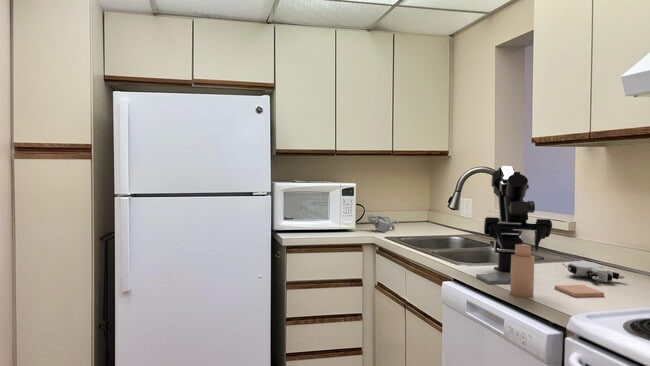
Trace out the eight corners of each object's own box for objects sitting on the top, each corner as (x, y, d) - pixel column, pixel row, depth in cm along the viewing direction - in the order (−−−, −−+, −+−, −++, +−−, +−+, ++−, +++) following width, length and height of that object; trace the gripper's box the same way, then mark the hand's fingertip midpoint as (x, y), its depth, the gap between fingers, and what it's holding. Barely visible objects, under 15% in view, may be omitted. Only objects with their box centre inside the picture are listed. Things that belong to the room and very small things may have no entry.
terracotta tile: (554, 288, 138) (554, 285, 138) (582, 288, 139) (582, 284, 139) (574, 296, 129) (574, 293, 129) (604, 296, 130) (604, 292, 130)
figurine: (396, 240, 266) (368, 237, 260) (391, 224, 275) (363, 220, 269) (404, 229, 260) (376, 225, 253) (398, 212, 268) (371, 208, 262)
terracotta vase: (506, 291, 133) (507, 243, 133) (526, 291, 134) (527, 243, 134) (517, 297, 127) (518, 247, 127) (537, 297, 128) (539, 246, 128)
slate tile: (476, 277, 152) (476, 274, 152) (502, 276, 153) (502, 273, 153) (489, 283, 143) (489, 280, 143) (516, 283, 144) (516, 280, 144)
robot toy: (627, 286, 146) (590, 272, 160) (628, 272, 145) (592, 259, 160) (593, 288, 143) (559, 273, 158) (594, 273, 143) (560, 260, 158)
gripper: (485, 190, 143) (488, 230, 132) (551, 192, 138) (559, 233, 128) (482, 214, 151) (485, 253, 140) (545, 216, 146) (552, 257, 135)
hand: (519, 249), depth 136 cm, fingers open, 9 cm apart
